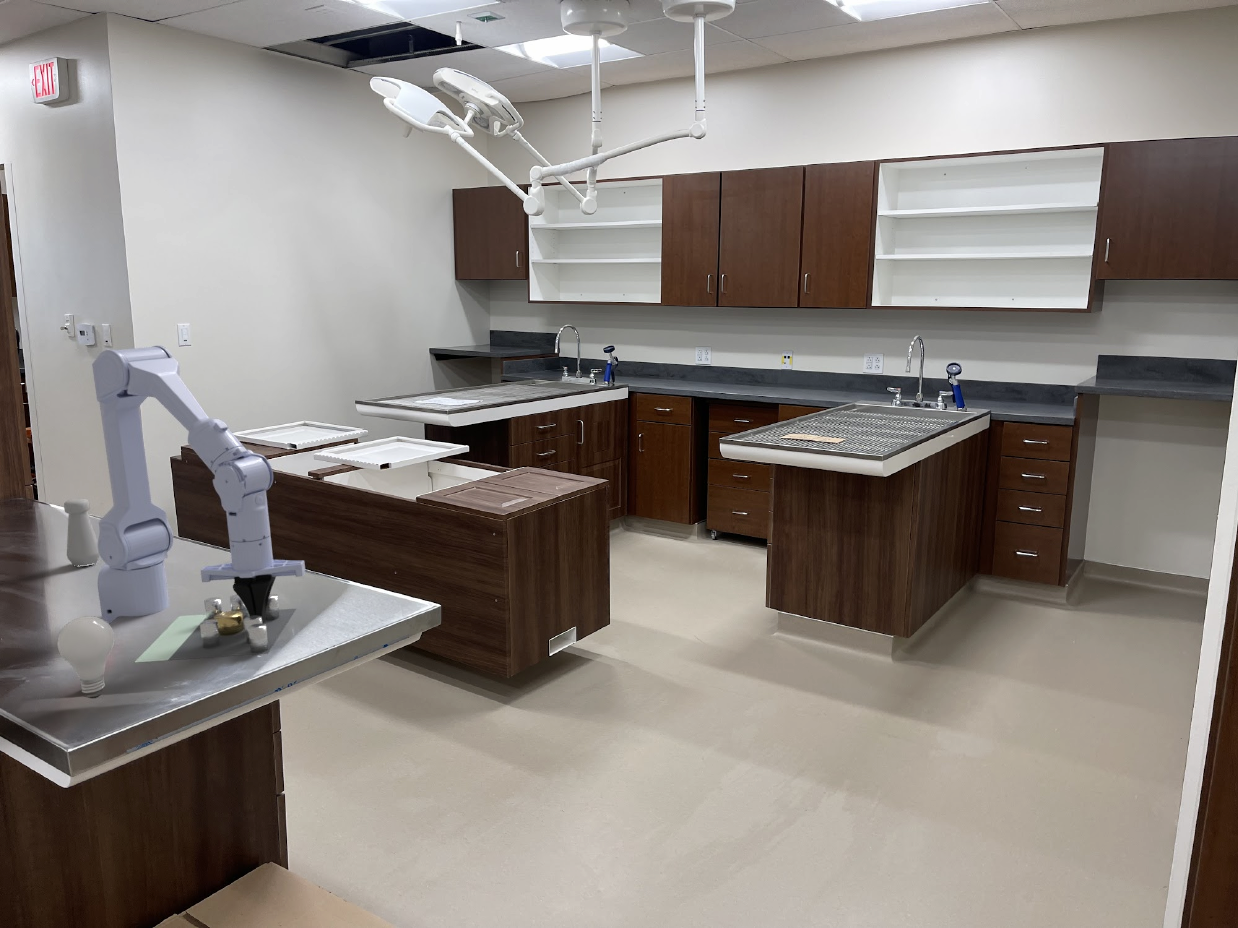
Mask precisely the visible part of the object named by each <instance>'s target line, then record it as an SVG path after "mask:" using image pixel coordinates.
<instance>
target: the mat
mask: <svg viewBox="0 0 1238 928" xmlns="http://www.w3.org/2000/svg"><path fill="white" fill-rule="evenodd" d="M296 610H297V608H284V609H282V608H281V609H279V614H280V617H279V618H278V619H275V620H266V621H265V622H264V624H266V629H267V638H268V647H269V649H268V650H267V651H264V652H261V653H252V652H251V650H250V644H248V643H247V642H246V633H245V624H244V630H243V631H241V632H239V633H237V634H233V635H226V636H221V635H220V643H221V644H220V645H219V646H217V647H215V648H208V649H207V648H203V646H202V637H201V629H200V623H201V622H203V621H206V613H205V614H191V615H179V616H178V617H177V618H176V619H175V620H174V621H173V622H172V623H171V624H170V625H169V626H168V627H166V629H165V630H164V631H163V632H162V633H161V634H160V636H158V637H157V639H155V640H154V642H152V644H151V645H150V646H149V647H148V648H147V649H146V650H145V651H144V652H142V654H141V655H139V657H137V659H136V660H135V661H134V662H133V663H134V664H135V663H147V662H149V663H150V662H160V661H161V662H162V661H163V662H164V661H176V660H177V661H179V660H191V659H205V658H207V659H209V658H223V657H236V656H248V655H249V656H250V655H265V654H269V652H270V651H271V649H272V648H273V646H274V645H275V643H276V641H277V640H278V638H279V637H280V636H281V633H283V630H284V629H285V628H286V626H287V624H288V623H289V621H290V619H291V618H292V616H293V615H294V613H295V612H296ZM249 616H250V615H249V613H248V617H249ZM243 623H244V619H243Z"/></svg>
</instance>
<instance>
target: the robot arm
mask: <svg viewBox="0 0 1238 928" xmlns="http://www.w3.org/2000/svg"><path fill="white" fill-rule="evenodd" d="M91 366H92V373H93V380H94V387H95V394H96V400H97V402H98V403H99V408H100V415H101V423H102V430H103V438H104V445H105V452H106V460H107V466H108V474H109V482H110V489H111V494H112V495H111V496H112V503H113V506H112V507H111V508H110V510H108V511H107V513H105V514H104V515H103V517H102V518H101V519H100V520H99V522H98V527H99V535H98V538H97V541H98V552H99V554H100V556H99V558H101V560H102V561H103V562H104V563H105V565H103V566H102V567H101V568H100V570H99V572H98V576H97V592H98V597H99V598H98V599H99V604H100V605H99V606H100V611H101V619H103V620H104V621H106V622H107V623H108V624H109V625H110V624H111V623H112V622H113V621H114V620H116V619H117V618H118V617H143V616H149V615H153V614H156V613H159V612H162V611H164V610H166V609H168V608H169V607H170V603H171V602H170V595H169V589H168V582H167V581H168V580H167V573H166V567H165V559H167V558H168V557H169V556H168V552H169V551H171V549H172V547H173V544H174V532H173V530H172V527H171V526H170V523H169V521H168V517H167V511H166V510H165V509H163V508H162V507H160V506H158V505H156V504H155V503H153V502H152V497H151V496H152V495H151V490H150V489H151V488H150V482H149V474H148V466H147V458H146V449H145V442H144V436H143V435H144V433H143V427H142V420H141V412H140V411H141V410H140V407H141V405H142V404H143V403H144V402H145V401H146V400H147V399H148V397H149V398H150V397H151V398H154V399H156V400H157V401H158V402H159V403H160V404H161V405H162V406H163V408H165V409H166V411H168V412H169V413H170V414H171V416H173V417H174V418H175V419H176V420H177V421H178V423H180V424H181V426H183V428H185V429H186V430H187V432H188V435H187V444H188V446H190V447H191V448H192V450H193V451H194V452H195V453H196V455H197V456H198V457H199V458H200V459H201V461H202V462H203V463H204V464H205V465H206V467H207V468H208V469H209V471H211V472H212V474H213V475H214V478H213V479H212V484H213V487H214V490H215V492H216V493H217V494H218V496H219V498H220V502H221V507H222V508H223V510H224V511H225V512H226V513H225V514H226V522H227V531H228V537H229V538H228V539H229V540H228V541H229V548H230V556H231V557H230V559H231V563H230V562H227V563H223V564H216V565H205V566H203V568H201V569H200V575H201V583H210V582H211V581H221V580H222V581H224V580H225V581H226V580H234V581H233V583H234V584H233V585H232V589H233V591H234V593H235V595H236V594H237V595H238V596H239V597H240V599H241V600H242V602H243V603H244V605H245V607H246V609H247V611H248V613H249V615H250V616H256V615H257V616H261V617H262V624H264V622H265V621H266V609H267V603H268V599H269V595H270V594H271V591H272V588H273V586H274V583H275V580H276V578H278V577H288V576H289V577H290V576H293V577H294V576H295V577H297V578H298V577H303V576H305V573H306V565H305V563H306V562H305V560H287V559H286V560H285V559H274V556H273V548H272V538H271V527H270V517H269V507H268V499H267V491H268V490H269V489H270V488H271V486H272V485H273V482H274V472H273V467H272V466H271V464H270V462H269V461H268V459H267V457H265V456H264V455H263V454H260V453H255V452H253V451H252V450H251V449H247V448H246V447H245V446H244V445H243V444H242V442H241V441H240V440H239V439H238V438H237V437H236V436H235V434H234V433H233V432H232V431H231V429H229V426H228V425H227V424H226V422H224V421H223V420H221V419H218V418H210V417H209V416H208V415H207V413H206V412H205V410H204V409H203V408H202V406H201V405H200V404H199V402H198V401H197V399H196V398H195V396H194V395H193V393H192V392H191V391H190V390H189V388H188V387H187V385H186V384H185V383H184V381H183V379H181V378H182V377H180V372H181V371H180V363H179V361H178V360H177V359H175V358H174V356H173V354H172V352H171V351H170V350H169V349H168V348H166V347H164V346H162V345H153V346H146V347H136V348H125V349H115V350H114V349H105V350H103V351H101V352H100V353H99V355H98V356H97V357H96V358H95V360H94V361H93V362H92V364H91Z"/></svg>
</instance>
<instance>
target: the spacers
mask: <svg viewBox="0 0 1238 928" xmlns="http://www.w3.org/2000/svg"><path fill="white" fill-rule="evenodd" d="M229 603H230V604H229V605H230V611H240V612H242V614H243V619H244V624H245V633H246V642H247V643H248V644H250V650H251V652H252V653H261V652H264V651H267V650H268V649H269V647H268V638H267V629H266V624H262V617H261V616H257V615H256V616H249V617H248V611H247V609H246V607H245V605H244V603H243V602H242V600H241V599H240V597H239V596H238V595H237V594H236V593H235V594H232V595H231V596H230V597H229ZM204 610H205V611H204V612H205V614H206V621H203V622H201V623H200V629H201V637H202V646H203V648H207V649H208V648H215V647H217V646H219V645H220V644H221V643H220V634H219V626H218V620H214V616H216V615H217V614H220V613H223V603H222V598H221V597H217V596H216V597H210V598H207V599H205V600H204ZM279 610H280V606H279V596H278V594H277V593H270V595H269V599H268V603H267V609H266V620H275V619H278V618H279V617H280V614H279Z"/></svg>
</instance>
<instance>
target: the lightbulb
mask: <svg viewBox="0 0 1238 928" xmlns="http://www.w3.org/2000/svg"><path fill="white" fill-rule="evenodd" d="M115 638H116V637H115V632H114V630H113V628H112V626H111V625H110V624H108V623H107V622H106V621H104V620H103V619H102V617H101V618H100V617H97V616H92V615H85V616H79V617H77V618H74V619H73V620H71V621H70V622H68V623H67V624H66V625H64V627H63V628H62V629H60V632H59V634H58V637H57V650H58V652H59V654H60V657H62V659H64V661H66V662H67V663H68V664H69V665H70V666H71V667H72V668H73V669H74V672H75V674H76V676H77V677H78V678H79V681H80V687H81V693H83V694H90V695H83V697H84V698H88V699H98V698H99V697H100V696H101V694H94V695H93V693H96V692H100V691H103V690H104V689H105V686H106V684H105V674H104V673H105V671H106V664H107V660H108V658H109V656H110V654H111V653H112V651H113V648H114V644H115ZM91 694H92V695H91Z"/></svg>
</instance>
